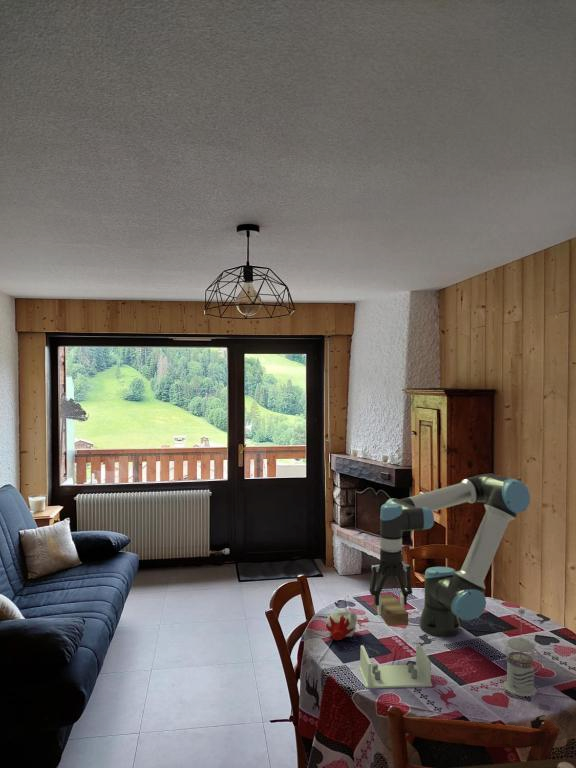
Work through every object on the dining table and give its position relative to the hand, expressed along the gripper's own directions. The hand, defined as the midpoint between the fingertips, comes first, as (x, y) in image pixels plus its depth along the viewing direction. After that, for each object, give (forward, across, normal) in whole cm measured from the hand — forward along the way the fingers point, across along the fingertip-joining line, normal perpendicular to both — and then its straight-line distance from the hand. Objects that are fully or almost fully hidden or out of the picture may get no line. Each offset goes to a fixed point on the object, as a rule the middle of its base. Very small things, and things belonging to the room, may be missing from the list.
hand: (390, 613), depth 193 cm
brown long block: (+1, 0, 0) cm, 1 cm away
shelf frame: (+14, +2, +14) cm, 20 cm away
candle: (+15, +15, -14) cm, 25 cm away
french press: (+15, -37, +22) cm, 45 cm away
